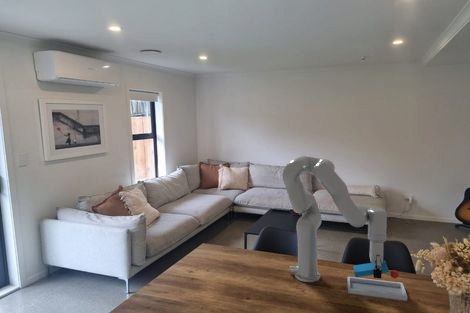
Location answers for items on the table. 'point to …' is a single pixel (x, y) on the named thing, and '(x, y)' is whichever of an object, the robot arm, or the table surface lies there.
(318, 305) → the table surface
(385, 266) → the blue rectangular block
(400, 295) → the tray
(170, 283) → the table surface
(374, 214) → the robot arm
